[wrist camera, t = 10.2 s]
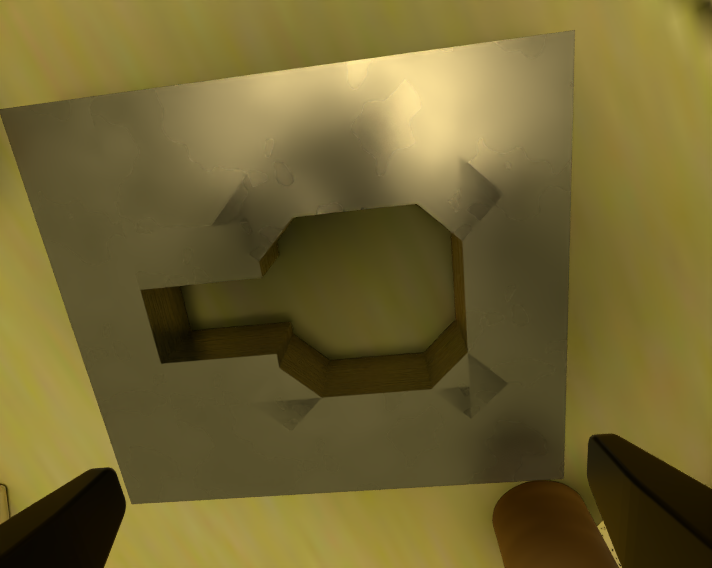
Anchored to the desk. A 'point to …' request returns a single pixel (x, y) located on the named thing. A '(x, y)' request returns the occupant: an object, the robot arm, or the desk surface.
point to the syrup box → (3, 505)
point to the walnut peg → (548, 529)
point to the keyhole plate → (260, 249)
